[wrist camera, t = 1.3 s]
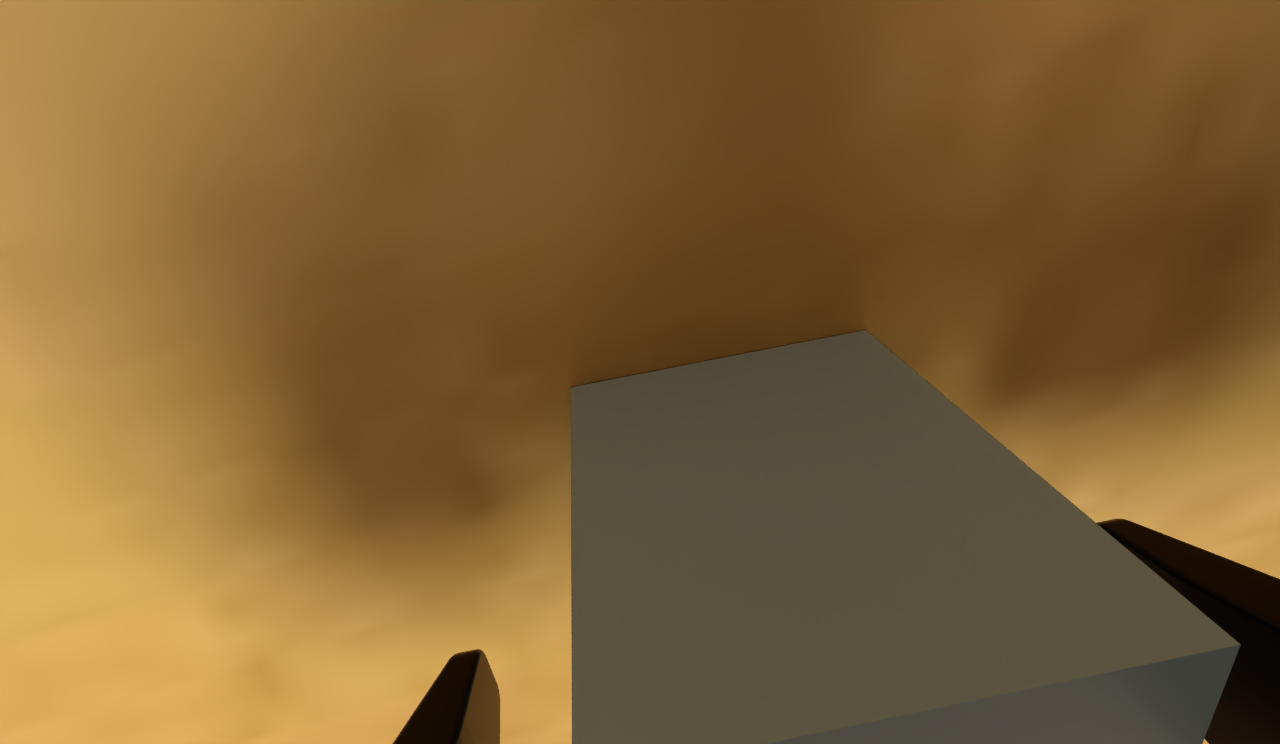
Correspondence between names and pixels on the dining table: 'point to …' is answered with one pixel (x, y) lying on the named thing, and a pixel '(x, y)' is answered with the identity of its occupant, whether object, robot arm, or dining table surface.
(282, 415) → the dining table surface
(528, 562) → the dining table surface
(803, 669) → the grey-blue rectangular block
